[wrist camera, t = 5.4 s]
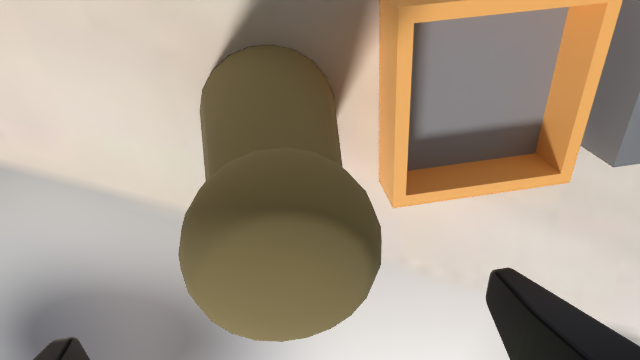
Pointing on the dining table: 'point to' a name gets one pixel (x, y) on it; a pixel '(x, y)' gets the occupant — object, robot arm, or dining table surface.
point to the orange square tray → (485, 93)
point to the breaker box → (618, 95)
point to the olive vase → (276, 204)
